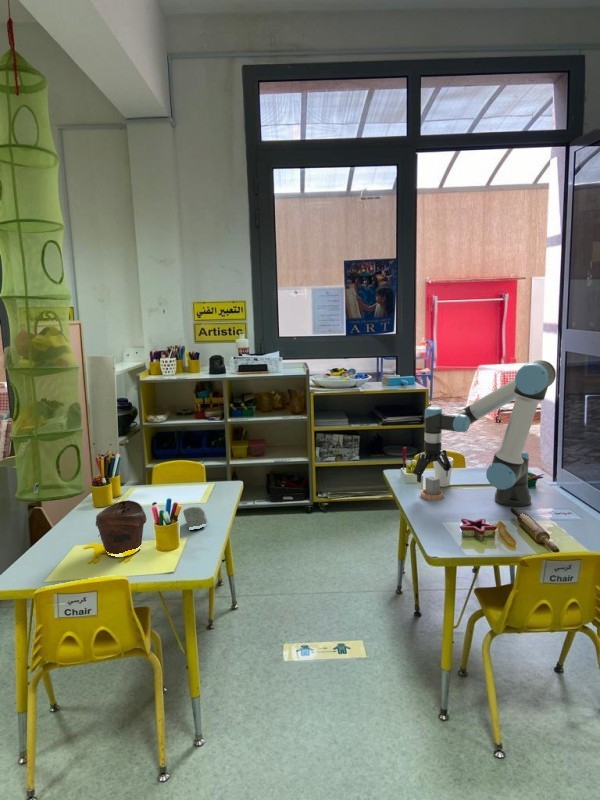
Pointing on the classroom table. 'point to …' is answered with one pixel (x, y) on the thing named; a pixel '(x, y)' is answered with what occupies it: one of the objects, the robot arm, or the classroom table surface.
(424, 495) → the terracotta dish
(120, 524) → the chocolate muffin
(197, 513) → the decorative stone
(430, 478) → the stone block
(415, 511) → the classroom table surface
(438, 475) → the foam cup
